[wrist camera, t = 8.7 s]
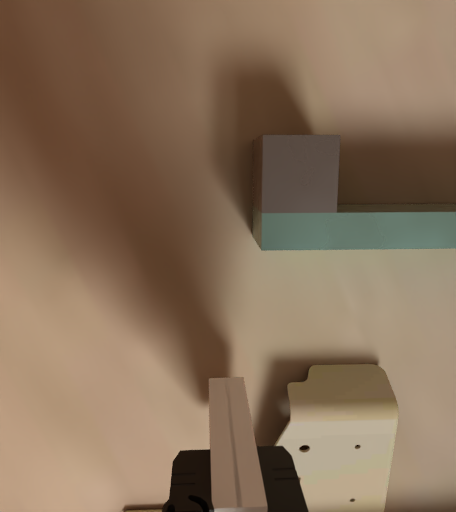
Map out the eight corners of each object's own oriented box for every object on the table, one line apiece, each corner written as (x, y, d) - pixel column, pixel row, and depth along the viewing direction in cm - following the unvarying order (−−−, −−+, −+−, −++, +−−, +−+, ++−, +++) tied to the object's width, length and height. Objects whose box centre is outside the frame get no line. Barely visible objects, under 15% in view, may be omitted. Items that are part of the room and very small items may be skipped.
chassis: (248, 619, 21) (256, 712, 17) (253, 140, 16) (265, 133, 13) (540, 606, 21) (605, 693, 18) (623, 140, 17) (733, 133, 13)
